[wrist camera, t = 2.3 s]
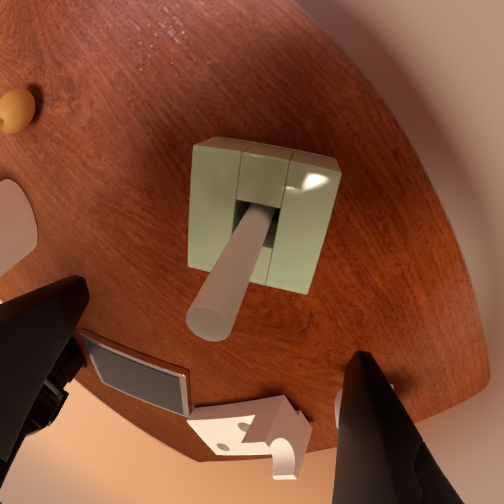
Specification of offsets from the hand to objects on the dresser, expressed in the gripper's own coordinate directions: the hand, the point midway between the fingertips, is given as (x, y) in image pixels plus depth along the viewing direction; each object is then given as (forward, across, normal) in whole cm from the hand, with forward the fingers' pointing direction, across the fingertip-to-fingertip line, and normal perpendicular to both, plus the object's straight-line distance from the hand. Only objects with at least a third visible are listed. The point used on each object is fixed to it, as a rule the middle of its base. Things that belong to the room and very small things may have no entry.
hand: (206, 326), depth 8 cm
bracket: (+11, -2, +26) cm, 28 cm away
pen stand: (+11, 0, 0) cm, 11 cm away
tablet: (+11, +12, +25) cm, 30 cm away
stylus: (+11, 0, 0) cm, 11 cm away
